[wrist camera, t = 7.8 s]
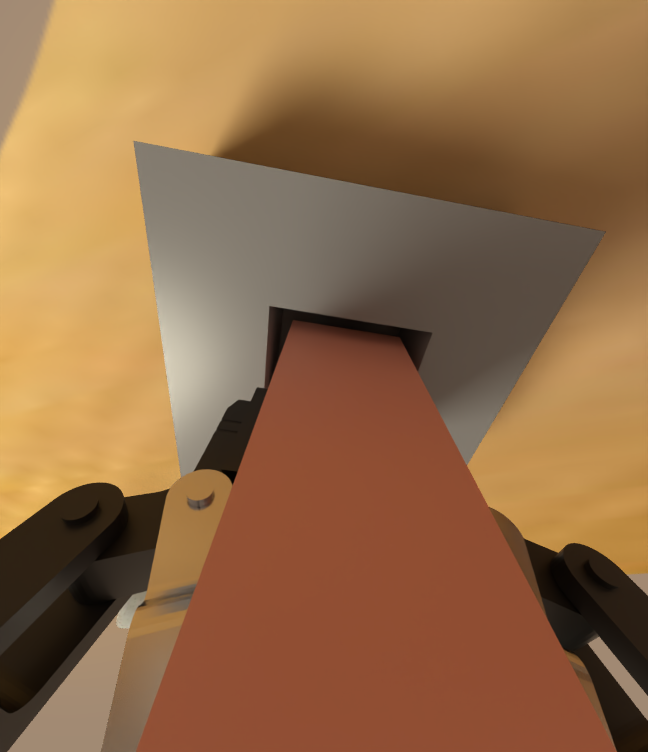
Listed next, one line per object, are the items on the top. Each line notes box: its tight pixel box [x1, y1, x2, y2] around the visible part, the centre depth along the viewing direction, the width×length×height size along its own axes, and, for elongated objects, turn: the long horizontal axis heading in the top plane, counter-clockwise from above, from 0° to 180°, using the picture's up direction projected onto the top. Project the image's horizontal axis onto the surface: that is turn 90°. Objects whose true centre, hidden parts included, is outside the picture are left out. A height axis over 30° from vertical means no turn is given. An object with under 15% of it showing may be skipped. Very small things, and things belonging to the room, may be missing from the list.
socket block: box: [134, 141, 606, 477], centre depth 14 cm, size 14×14×5 cm
